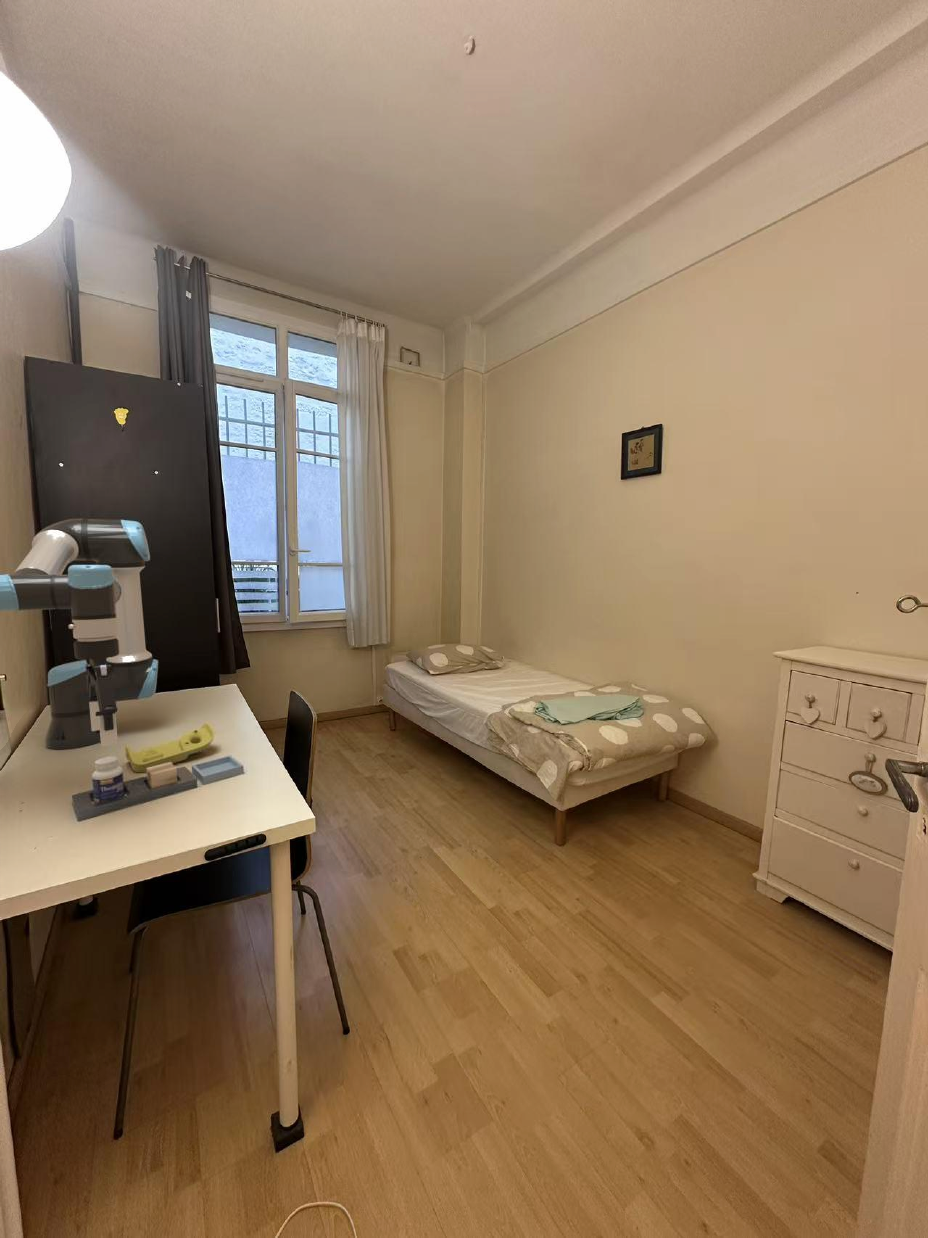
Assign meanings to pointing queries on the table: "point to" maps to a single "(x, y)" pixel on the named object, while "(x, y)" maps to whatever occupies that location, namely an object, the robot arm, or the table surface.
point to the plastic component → (171, 749)
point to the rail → (131, 795)
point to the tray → (217, 769)
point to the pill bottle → (107, 780)
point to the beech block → (161, 775)
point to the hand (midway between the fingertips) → (104, 737)
